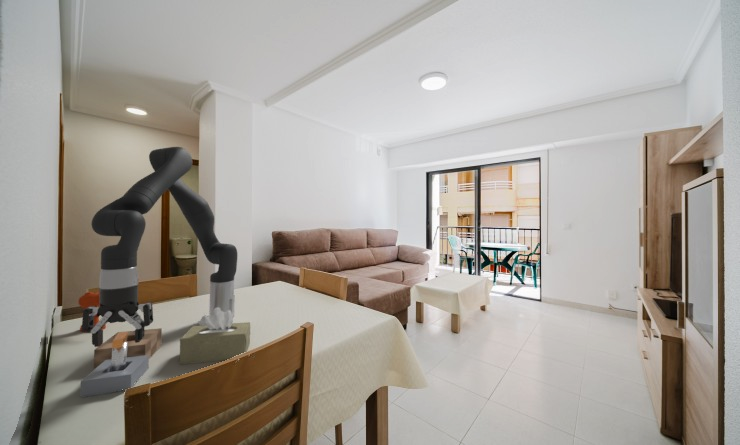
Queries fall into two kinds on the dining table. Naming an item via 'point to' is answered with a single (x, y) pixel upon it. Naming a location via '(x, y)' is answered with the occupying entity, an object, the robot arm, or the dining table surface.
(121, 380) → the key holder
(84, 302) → the toy drill
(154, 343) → the block
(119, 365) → the bar
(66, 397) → the dining table surface
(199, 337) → the tissue box
